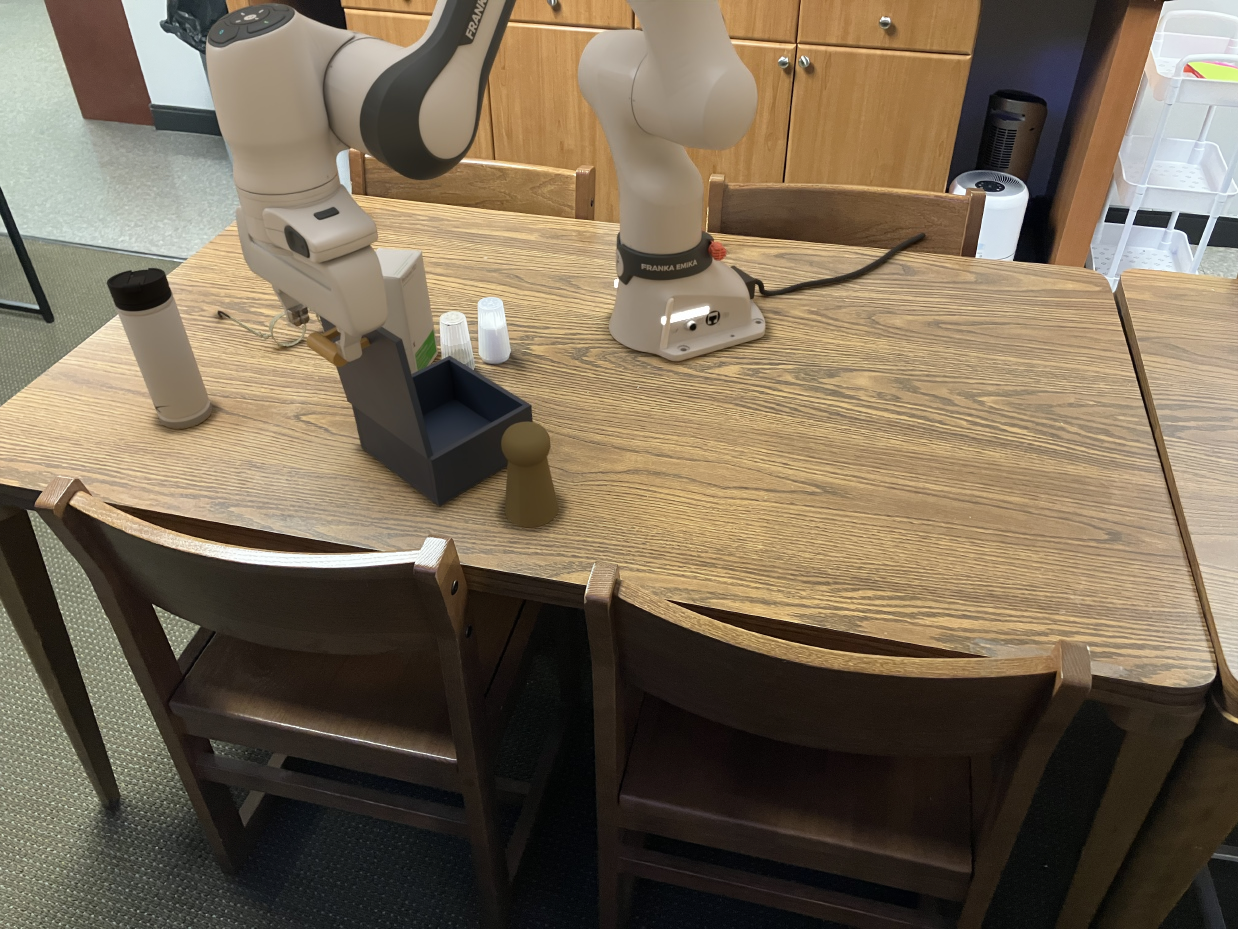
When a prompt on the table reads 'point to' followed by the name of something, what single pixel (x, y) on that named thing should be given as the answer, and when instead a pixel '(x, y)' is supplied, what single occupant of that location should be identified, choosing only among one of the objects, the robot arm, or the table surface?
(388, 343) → the lid
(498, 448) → the chest
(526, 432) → the brown pawn
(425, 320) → the cosmetic box
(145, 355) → the travel mug
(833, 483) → the table surface
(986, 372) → the table surface
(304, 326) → the round eyeglasses
